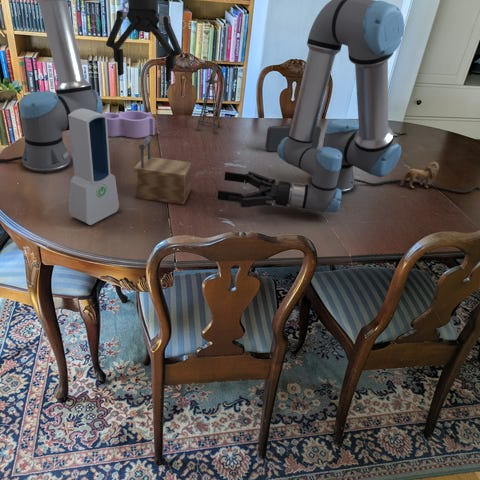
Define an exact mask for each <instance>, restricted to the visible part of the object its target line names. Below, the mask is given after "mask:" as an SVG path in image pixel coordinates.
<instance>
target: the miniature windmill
mask: <svg viewBox="0 0 480 480" xmlns="http://www.w3.org/2000/svg"><path fill="white" fill-rule="evenodd" d="M218 62H219V61H218V59H217V58H215V61H214V63H212V65H211V66H210V65H208V64H205V63H201V70H211V72H210V77H209V78H208V79H207V80H205V83H208V85H207V87H206V91H205V95H204V96H205V97H204V98H203V103H202V108H201V110H200V114H199V120H197V122H198V124H197V127H196V130H197V131H199V129H200V124H201V125H204V123H205V124H211V125H213V133H217V132H216V131H217V129H216V128H217V127H216V125H217V126H218V128H220V127H221V124H220V123H221V122H220V119H221V118H220V116H219V115H220V114H219V109H218V108H219V107H218V101H217V97H218V96H217V93H216V85H215V84H218V82H219V80H218V79H216V77H217V73H218V72H217V71H218ZM210 90H211V92H212V93H211V94H212V95H209V94H210ZM208 100H209V101H212V105H210V104H209V105H208ZM207 107H210V108H212V109H207ZM207 111H208V112H213V113H212V114H213V115H212V116H207V115H206V112H207ZM215 112H216V113H215ZM205 118H208V119H213V122H209V121H205Z"/></svg>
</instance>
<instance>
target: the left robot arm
mask: <svg viewBox="0 0 480 480" xmlns="http://www.w3.org/2000/svg"><path fill="white" fill-rule="evenodd" d="M34 1H35V2H36V3H37V4H38V6H39V9H40V14H41V17H42V23H43V25H44V30H45V34H46V38H47V42H48V46H49V49H50V50H49V51H50V54H51V59H52V61H53V62H52V63H53V66H54V70H55V74H56V79H57V82H58V83H57V85H56V87H55V89H54V90H55V92H54V91H51V90H42V91H41V90H37V91H32V92H30V93H26V94H24V96H22V97H21V99H20V100H19V103H18V104H19V116H20V120H21V126H22V132H23V136H24V148H23V153H22V156H15V157H12V158H0V163H9V162H10V163H11V162H14V161H20V160H21V161H22V166H23V168H24V169H25V170H27V171H29V172H33V173H39V174H46V173H56V172H61V171H63V170H66V169H67V168H69V167H70V166H71V163H72V159H71V155H70V153H69V151H68V150H67V149H68V148H67V147H66V145H65V143H64V140H63V132H66V131H67V132H68V131H70V128H69V119H68V115H69V114H70V113H71V112H73V111H75V110H77V109H88V110H91V111H94V112H97V113H100V114H103V111H104V108H103V107H104V105H103V102H102V98H101V96H100V94H99V92H98V91H97V90H95V89H93V87H92V84H91V83H90V82H89V81H88V80H86V77H85V73H84V69H83V65H82V60H81V55H80V51H79V48H78V47H79V46H78V43H77V39H76V35H75V30H74V29H75V28H74V25H73V21H72V16H71V12H70V8H69V3H68V0H34ZM127 4H128V5H127V6H128V10H127V11H124V10H123V9H119V10H117V11H116V13H115V14H116V15H115V20H114V24H113V26H112V28H111V31H110V33H109V35H108V37H107V40H106V43H105V45H106V47H107V48H111V49H112V50H113V62H114V63H116V64H117V65H116V66H117V76H120V77H121V76H122V75H124V74H125V71H124V70H125V67H124V66H125V65H124V49H123V48H121V47H122V46H123V44H124V43H125V42H126V41H127V40H128V39H129V37H130V36H131V35H132V33H133V32H134V31H136V32H144V33H149V34H150V33H151V34H152V35H153V36H154V38H156V40H157V41H158V43H159V44H160V46H161V47H162V48H163V50H164V51H165V53H166V54H167V55H166V56H165V82H166V83H169V82H170V81H171V80H172V70H173V69H175V65H176V64H175V62H176V56H180V55H181V54H182V52H183V51H182V48H181V45H180V44H179V41H178V38H177V36H176V34H175V31H174V29H173V25H172V23H171V16H170V15H168V14H166V15H160V14H159V0H127ZM126 19H128V21H129V23H130V24H129V25H128V26H127V27H126V29H125V31H124V32H123V33H122V34H121V36H120V37H119V38H118V40H116V39H117V37H118V35H119V31H120V30H121V27H122V25H123V23H124V21H125V20H126ZM159 22H160V23H161V25H163V27H164V30H165V33H166V35H167V37H168V40H169V41H168V40H167V38H166V37H165V36H164V34H163V33H162V31H161V29H160V27H159V26H158V24H159ZM115 41H116V42H115ZM169 42H170V43H169Z"/></svg>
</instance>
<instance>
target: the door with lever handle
mask: <svg viewBox="0 0 480 480" xmlns="http://www.w3.org/2000/svg"><path fill="white" fill-rule="evenodd" d="M152 140H153V136H152V135H148V136H146V137H144V139H143V140H142V141H141V142H140V144H138V149H139V150H140V160H139V162H137V164H136V165H135V166H134V168H133V172H134V173H137V172H140V173H148V174H155V175H162V176H169V177H176V178H183V179H185V177H186V175H187V173H188V171H189V169H190V168H191V169H192V167H191V166H192V165H193V163H192V162H190V161H183V160H176V159H169V158H161V157H155V156H151V142H152ZM146 148H147V155H145V149H146Z"/></svg>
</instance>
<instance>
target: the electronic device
mask: <svg viewBox="0 0 480 480" xmlns="http://www.w3.org/2000/svg"><path fill="white" fill-rule="evenodd" d="M103 114H104V113H102V114H100V113H97V112H94V111H91V110H88V109H77V110H75V111H73V112H71V113H70V114H69V115H68V119H69V128H70V130H69V135H70V136H69V137H70V145H71V154H72V155H71V156H72V164H73V172H74V175H73V176H72V178H71V180H70V181H69V184H70V185H69V196H68V197H69V199H68V211H69V213H70V216H71V217H73V218H74V219H76V220H78V221H81V222H83V223H84V224H87V225H89V226H92V225H94V224H96V223H98V222H99V221H102V220H103V219H105V218H107V217H109V216H111V215H113V214H115V213H117V212H118V210H119V208H120V202H119V195H118V188H117V181H116V175H114V174H112V173H111V161H110V145H109V143H110V142H109V136H108V127H107V116H106V115H103Z"/></svg>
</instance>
